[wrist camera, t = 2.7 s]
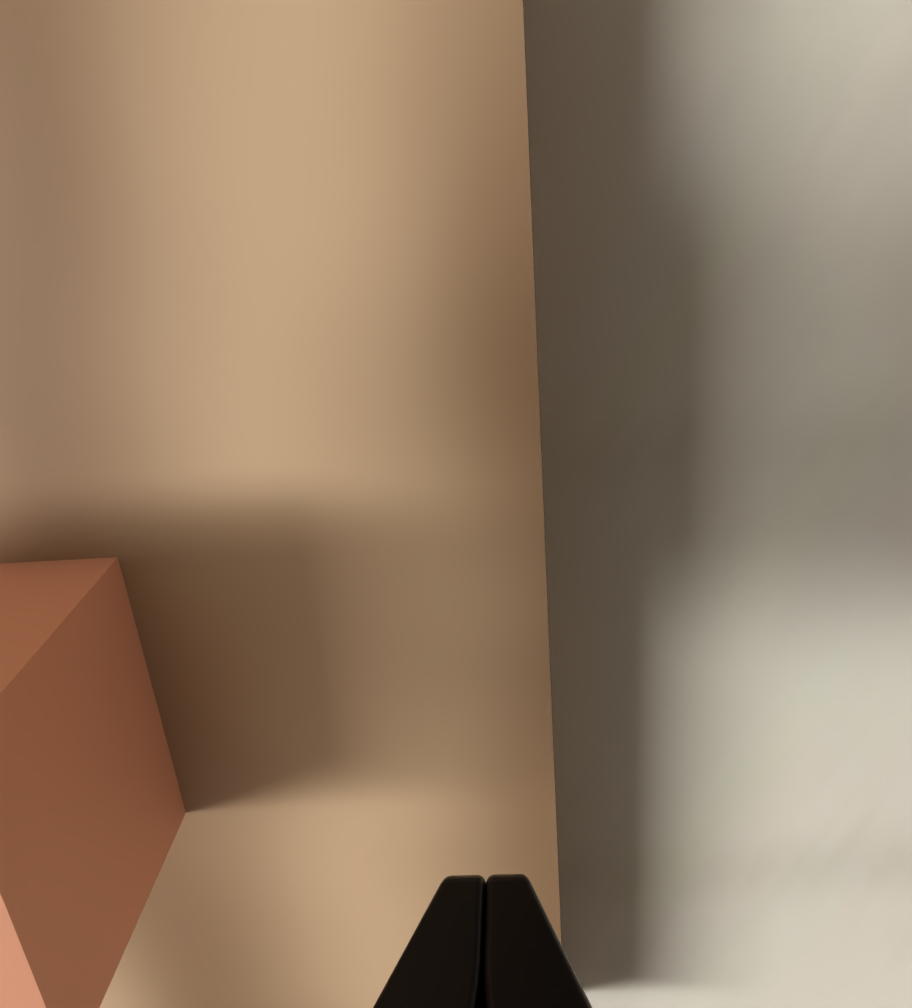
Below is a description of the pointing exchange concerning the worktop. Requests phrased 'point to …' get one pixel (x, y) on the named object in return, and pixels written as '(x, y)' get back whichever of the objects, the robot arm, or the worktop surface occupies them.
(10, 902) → the block
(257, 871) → the board
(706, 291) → the worktop surface
